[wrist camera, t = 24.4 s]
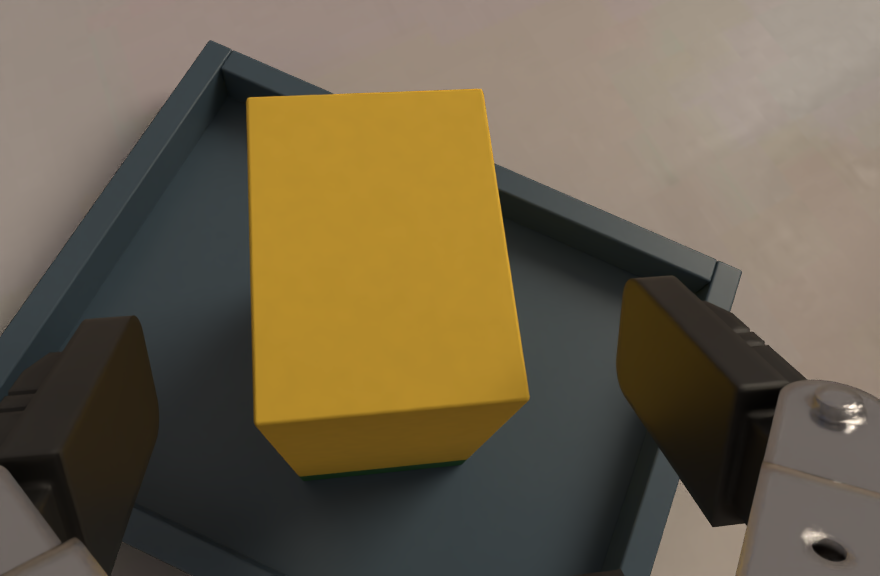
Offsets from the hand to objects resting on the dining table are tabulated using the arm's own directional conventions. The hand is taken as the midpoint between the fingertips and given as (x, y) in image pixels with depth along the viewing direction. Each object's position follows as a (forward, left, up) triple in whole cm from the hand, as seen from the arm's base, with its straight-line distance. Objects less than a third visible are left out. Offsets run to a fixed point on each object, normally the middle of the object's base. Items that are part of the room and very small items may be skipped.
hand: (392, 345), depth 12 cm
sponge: (-1, +2, -9) cm, 9 cm away
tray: (-1, +2, -9) cm, 9 cm away
